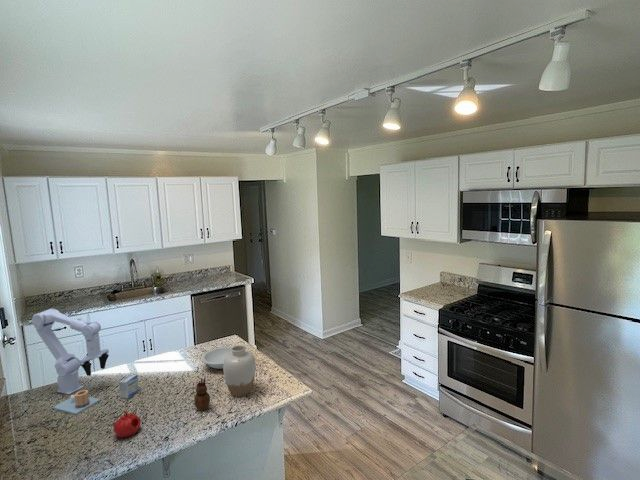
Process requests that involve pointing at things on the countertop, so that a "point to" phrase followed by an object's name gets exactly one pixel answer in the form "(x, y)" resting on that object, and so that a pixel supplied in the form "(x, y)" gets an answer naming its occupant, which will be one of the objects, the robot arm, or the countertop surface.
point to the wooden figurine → (201, 396)
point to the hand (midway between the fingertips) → (95, 371)
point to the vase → (239, 371)
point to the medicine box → (129, 386)
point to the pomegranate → (127, 425)
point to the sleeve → (82, 399)
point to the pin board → (70, 405)
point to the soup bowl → (216, 356)
